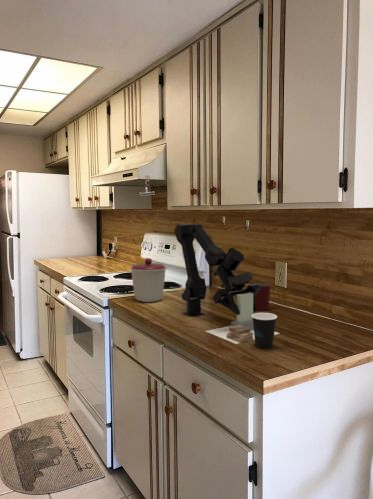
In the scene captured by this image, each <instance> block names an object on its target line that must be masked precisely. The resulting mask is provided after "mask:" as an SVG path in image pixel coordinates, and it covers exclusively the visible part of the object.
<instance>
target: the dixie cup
mask: <svg viewBox="0 0 373 499" xmlns="http://www.w3.org/2000/svg"><path fill="white" fill-rule="evenodd" d="M252 317H253V327H254V337H255V340H254V346H255V347H256V348H258V349H261V350H264V349H265V350H269V349H272V348H273V346H274V341H275V340H274V338H275V335H274V332H276V331H275V330H276V324H277V323H276V322H277V318H278V315H276V314H274V313H269V312H254V313H253V314H252Z"/></svg>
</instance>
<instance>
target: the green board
mask: <svg viewBox="0 0 373 499" xmlns="http://www.w3.org/2000/svg"><path fill="white" fill-rule="evenodd" d="M236 306H237V308H238V310H239V312H240V314H239V315H237V314H236V321H237V323H240V324H241V323H246V322H251V321H253V317H252V314H254V311H253V293H245V294H238V295H237V296H236Z"/></svg>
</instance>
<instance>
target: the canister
mask: <svg viewBox="0 0 373 499" xmlns="http://www.w3.org/2000/svg"><path fill="white" fill-rule="evenodd" d="M152 262H153V260H152V258H149V257H146V258H145V259H144V263H143V262H142V263H136V264H134V265H132V266H131V267H130V268H129V269H130V270H131V271H130V272H131V278H132V279H131V280H132V286H133V292H134V293H133V294H134V298H135V299H136V301H138V302H140V301H142V302H141V303H155V301H156V302H159V301H161V300H162V298H163V295H164V290H165V289H164V288H165V279H166V270H167V266H166V265H164V264H162V263H157V262H156V263H154V262H153V263H152Z"/></svg>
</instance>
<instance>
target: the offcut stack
mask: <svg viewBox="0 0 373 499" xmlns="http://www.w3.org/2000/svg"><path fill="white" fill-rule="evenodd" d="M230 326H231V325H230ZM227 338H229V339H232V340H234V341H237V342H239V343H238V344H241V343H246V341H247V342H251V341H254V340H253V332H250V329H248V328H246V327H243V326H241V325H237V326H231V327H229V334H227ZM250 340H251V341H250Z"/></svg>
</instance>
